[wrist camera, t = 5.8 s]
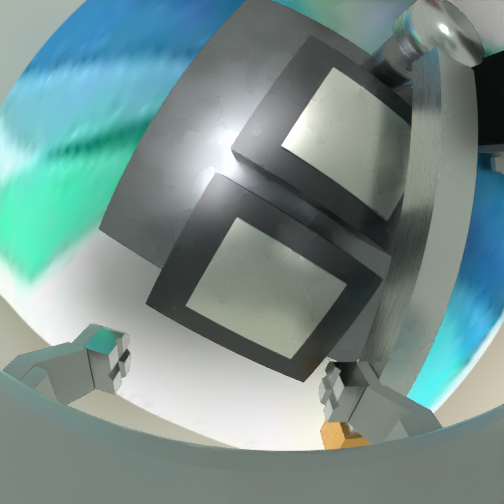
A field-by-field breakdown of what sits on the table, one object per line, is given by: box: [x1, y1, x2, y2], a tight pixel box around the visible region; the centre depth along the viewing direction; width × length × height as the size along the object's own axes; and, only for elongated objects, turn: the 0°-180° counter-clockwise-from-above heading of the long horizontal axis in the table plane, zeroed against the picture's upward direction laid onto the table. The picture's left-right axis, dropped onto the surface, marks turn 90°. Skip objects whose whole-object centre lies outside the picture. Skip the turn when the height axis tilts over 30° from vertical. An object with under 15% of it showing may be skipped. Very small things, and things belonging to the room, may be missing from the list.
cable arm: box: [320, 0, 484, 450], centre depth 8 cm, size 20×3×2 cm, turn 172°
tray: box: [99, 0, 413, 382], centre depth 12 cm, size 17×18×6 cm
